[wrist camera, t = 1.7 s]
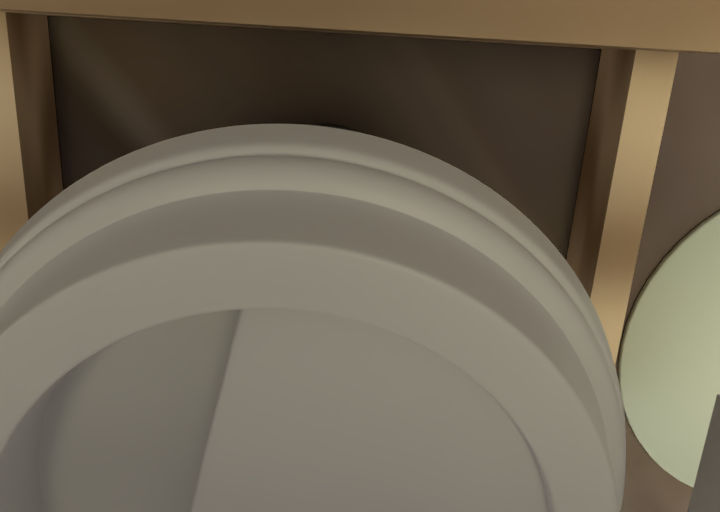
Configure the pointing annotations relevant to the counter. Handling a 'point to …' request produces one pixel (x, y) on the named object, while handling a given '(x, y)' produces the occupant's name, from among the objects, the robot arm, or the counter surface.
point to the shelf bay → (417, 20)
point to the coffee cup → (298, 339)
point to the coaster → (675, 353)
